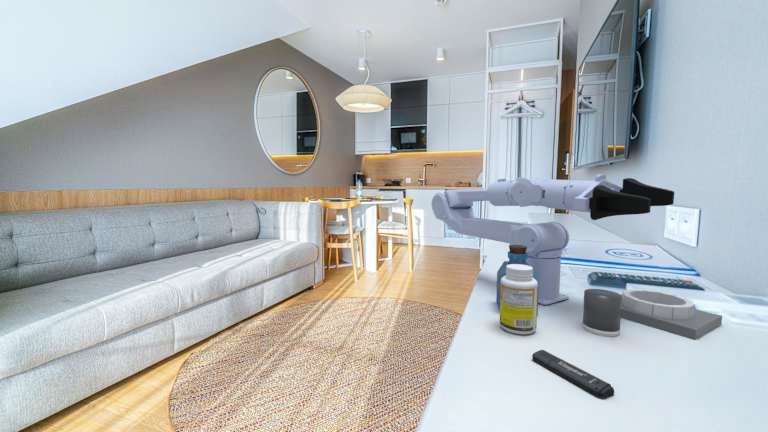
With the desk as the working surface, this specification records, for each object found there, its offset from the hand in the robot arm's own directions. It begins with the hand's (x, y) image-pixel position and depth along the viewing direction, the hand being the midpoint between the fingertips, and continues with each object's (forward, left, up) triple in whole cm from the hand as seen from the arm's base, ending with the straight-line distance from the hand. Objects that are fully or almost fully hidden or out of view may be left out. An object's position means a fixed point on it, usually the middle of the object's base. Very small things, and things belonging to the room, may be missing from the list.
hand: (661, 201), depth 50 cm
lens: (-5, -6, -21) cm, 22 cm away
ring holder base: (-3, +8, -21) cm, 22 cm away
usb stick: (0, -23, -21) cm, 31 cm away
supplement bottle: (-12, -17, -21) cm, 29 cm away
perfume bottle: (-18, -10, -21) cm, 29 cm away
